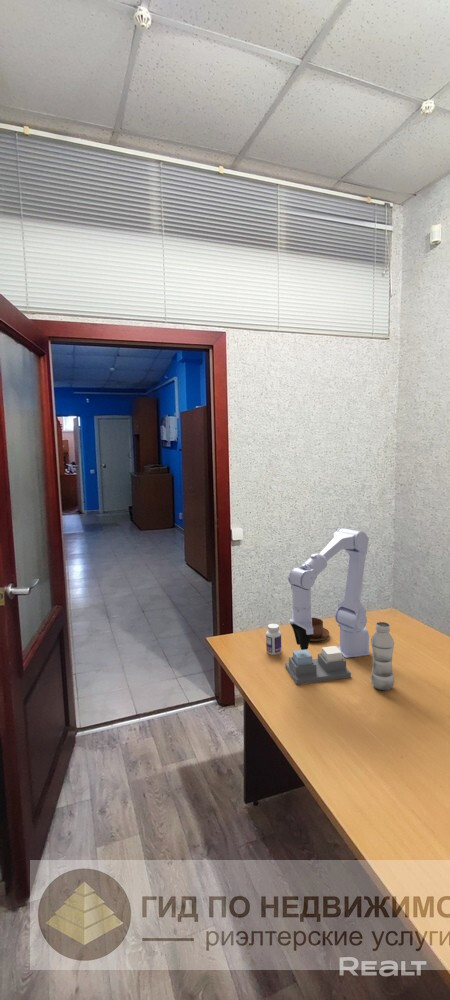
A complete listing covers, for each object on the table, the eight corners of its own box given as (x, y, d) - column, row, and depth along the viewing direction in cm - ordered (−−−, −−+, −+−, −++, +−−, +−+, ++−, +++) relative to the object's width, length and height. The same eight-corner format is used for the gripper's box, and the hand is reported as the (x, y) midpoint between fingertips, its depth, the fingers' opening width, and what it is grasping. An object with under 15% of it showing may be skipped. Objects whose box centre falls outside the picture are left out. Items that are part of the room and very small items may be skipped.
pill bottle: (281, 648, 162) (280, 622, 160) (281, 655, 156) (281, 629, 155) (266, 647, 162) (265, 622, 161) (266, 655, 157) (265, 628, 156)
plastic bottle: (395, 694, 131) (397, 629, 128) (371, 692, 132) (372, 628, 129) (392, 682, 137) (393, 620, 134) (369, 680, 138) (369, 619, 136)
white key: (335, 654, 148) (335, 645, 147) (341, 661, 143) (341, 652, 142) (321, 656, 147) (321, 647, 146) (327, 663, 142) (327, 654, 142)
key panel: (335, 660, 151) (336, 648, 151) (350, 677, 141) (350, 663, 140) (285, 667, 148) (285, 654, 148) (296, 684, 137) (296, 671, 137)
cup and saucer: (293, 632, 175) (292, 617, 174) (321, 628, 177) (321, 613, 176) (303, 645, 163) (303, 629, 163) (334, 641, 165) (334, 626, 165)
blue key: (306, 657, 146) (306, 649, 145) (312, 665, 141) (312, 656, 141) (292, 659, 145) (292, 651, 144) (297, 667, 140) (297, 658, 140)
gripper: (282, 599, 147) (283, 638, 149) (297, 615, 133) (298, 658, 134) (302, 597, 148) (303, 635, 150) (319, 613, 134) (320, 656, 136)
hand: (302, 646), depth 142 cm, fingers open, 3 cm apart
